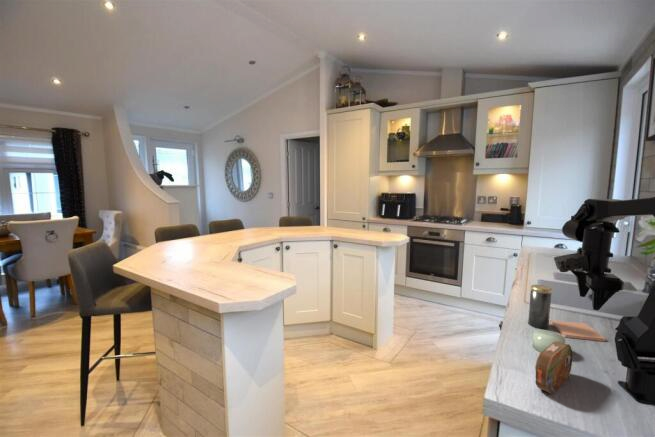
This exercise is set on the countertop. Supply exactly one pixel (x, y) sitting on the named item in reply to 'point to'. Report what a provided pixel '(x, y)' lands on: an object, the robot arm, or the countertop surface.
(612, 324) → the countertop surface
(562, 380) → the tin
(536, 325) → the canister
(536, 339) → the pale green rounded piece
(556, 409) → the countertop surface
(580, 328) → the plate
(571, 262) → the robot arm
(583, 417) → the countertop surface
